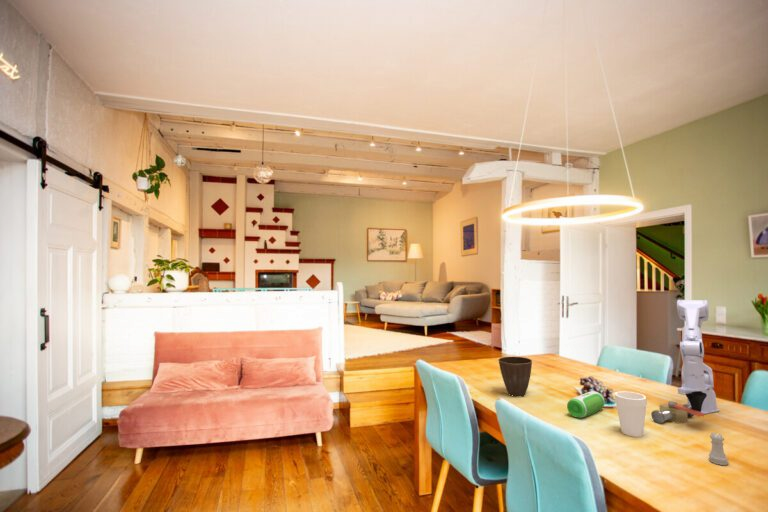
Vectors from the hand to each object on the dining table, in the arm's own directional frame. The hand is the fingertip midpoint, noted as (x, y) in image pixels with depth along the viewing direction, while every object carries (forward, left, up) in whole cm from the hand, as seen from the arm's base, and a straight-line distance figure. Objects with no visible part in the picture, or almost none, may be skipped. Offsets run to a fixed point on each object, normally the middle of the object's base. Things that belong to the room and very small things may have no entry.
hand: (696, 412), depth 137 cm
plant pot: (+34, -56, -6) cm, 66 cm away
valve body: (0, -8, -5) cm, 10 cm away
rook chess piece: (+21, +19, -6) cm, 29 cm away
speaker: (+24, -26, -6) cm, 36 cm away
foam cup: (+25, -5, -6) cm, 26 cm away
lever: (+1, -3, 0) cm, 4 cm away
